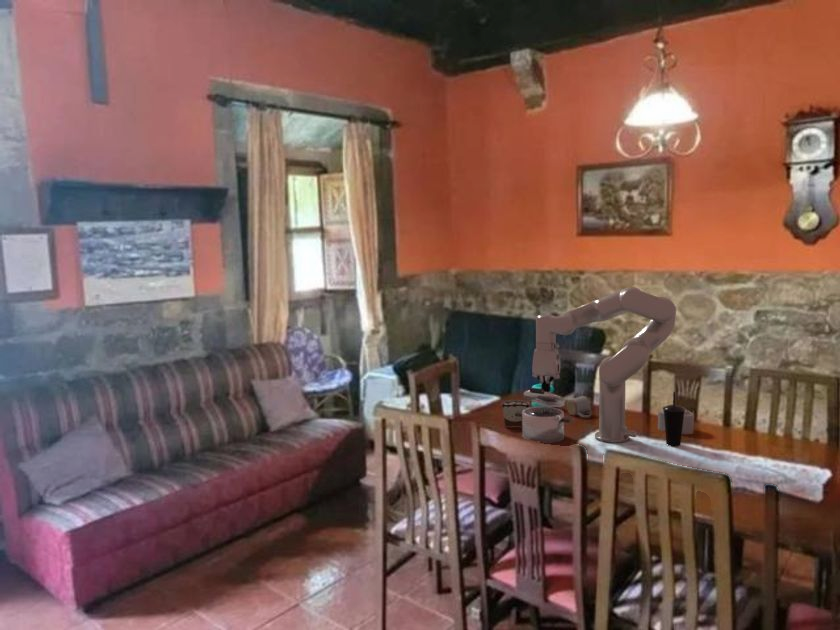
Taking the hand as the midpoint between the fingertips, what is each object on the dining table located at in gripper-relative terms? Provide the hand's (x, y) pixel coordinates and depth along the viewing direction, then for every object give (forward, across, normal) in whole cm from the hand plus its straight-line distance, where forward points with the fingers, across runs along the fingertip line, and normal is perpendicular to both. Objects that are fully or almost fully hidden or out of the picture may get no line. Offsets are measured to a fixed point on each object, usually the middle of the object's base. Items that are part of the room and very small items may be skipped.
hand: (545, 392), depth 258 cm
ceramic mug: (+17, -3, -33) cm, 37 cm away
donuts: (+17, +16, -39) cm, 46 cm away
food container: (+17, +16, -7) cm, 24 cm away
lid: (+2, 0, +3) cm, 4 cm away
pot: (+17, 0, +4) cm, 17 cm away
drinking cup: (+17, -46, -9) cm, 50 cm away
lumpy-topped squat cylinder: (+17, -44, -28) cm, 55 cm away
